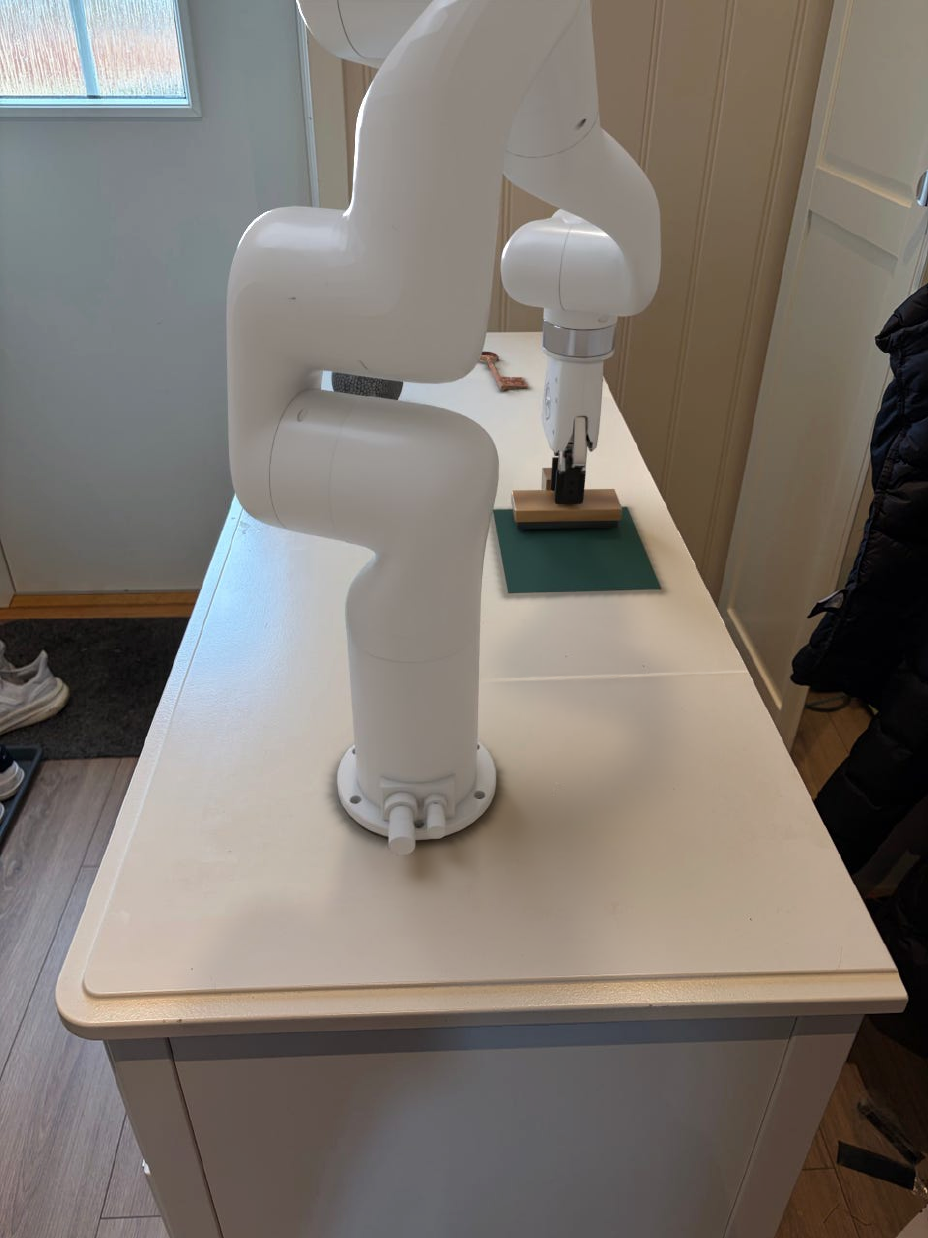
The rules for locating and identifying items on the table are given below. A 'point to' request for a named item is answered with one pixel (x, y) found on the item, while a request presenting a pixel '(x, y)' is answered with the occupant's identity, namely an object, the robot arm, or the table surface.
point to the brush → (565, 509)
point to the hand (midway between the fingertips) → (566, 495)
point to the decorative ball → (366, 386)
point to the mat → (573, 557)
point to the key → (499, 379)
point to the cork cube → (546, 479)
